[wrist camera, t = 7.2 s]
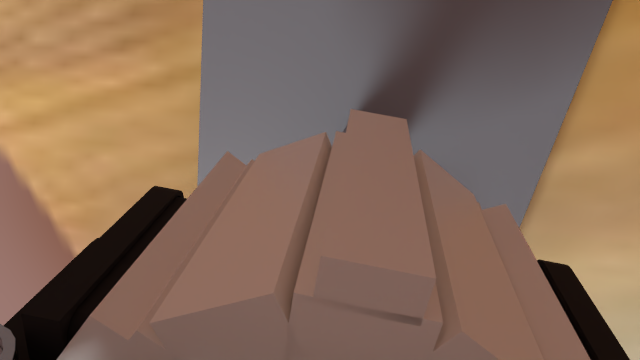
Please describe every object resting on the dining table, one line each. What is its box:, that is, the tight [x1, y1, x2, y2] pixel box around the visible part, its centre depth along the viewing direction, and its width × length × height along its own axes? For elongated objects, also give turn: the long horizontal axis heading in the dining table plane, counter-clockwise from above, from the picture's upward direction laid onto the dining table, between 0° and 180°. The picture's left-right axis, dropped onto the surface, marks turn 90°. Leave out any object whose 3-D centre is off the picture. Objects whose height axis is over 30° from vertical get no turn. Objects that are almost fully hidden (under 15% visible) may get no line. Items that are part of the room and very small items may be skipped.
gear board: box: [198, 0, 613, 227], centre depth 17 cm, size 22×13×8 cm, turn 171°
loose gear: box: [57, 109, 591, 360], centre depth 8 cm, size 7×7×5 cm
